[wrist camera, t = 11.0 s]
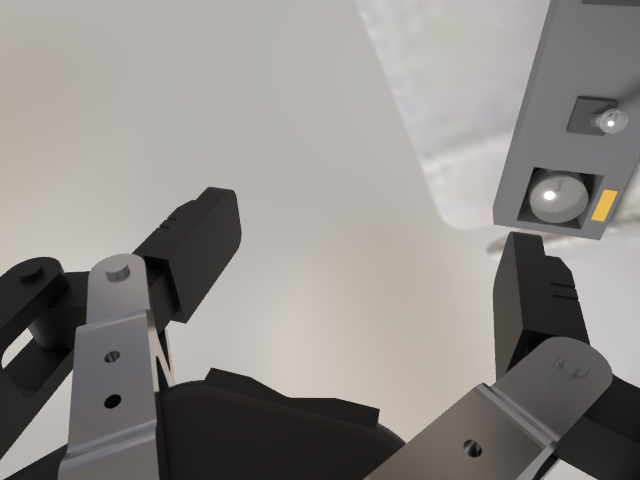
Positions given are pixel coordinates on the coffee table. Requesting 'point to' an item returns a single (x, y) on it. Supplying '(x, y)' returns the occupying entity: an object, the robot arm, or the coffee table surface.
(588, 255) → the coffee table surface
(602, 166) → the panel
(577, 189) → the button
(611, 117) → the toggle
